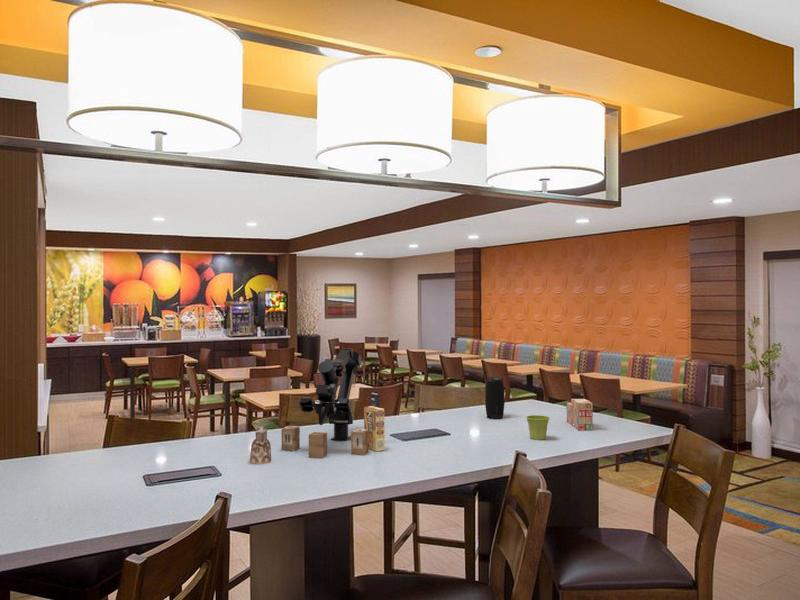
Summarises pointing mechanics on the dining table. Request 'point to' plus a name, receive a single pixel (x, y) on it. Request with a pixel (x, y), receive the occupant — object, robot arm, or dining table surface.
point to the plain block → (317, 445)
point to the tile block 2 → (359, 442)
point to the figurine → (260, 447)
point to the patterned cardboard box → (580, 414)
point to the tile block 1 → (290, 438)
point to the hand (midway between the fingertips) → (320, 424)
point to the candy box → (375, 427)
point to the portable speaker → (494, 397)
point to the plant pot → (537, 426)
